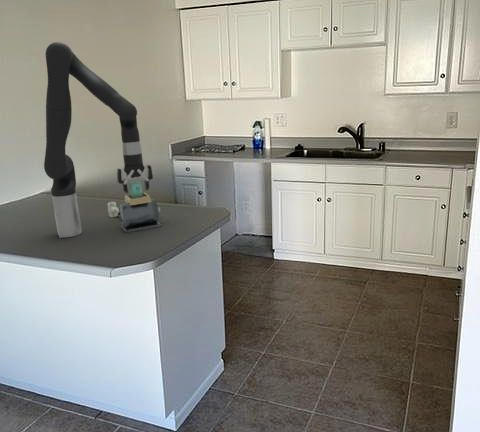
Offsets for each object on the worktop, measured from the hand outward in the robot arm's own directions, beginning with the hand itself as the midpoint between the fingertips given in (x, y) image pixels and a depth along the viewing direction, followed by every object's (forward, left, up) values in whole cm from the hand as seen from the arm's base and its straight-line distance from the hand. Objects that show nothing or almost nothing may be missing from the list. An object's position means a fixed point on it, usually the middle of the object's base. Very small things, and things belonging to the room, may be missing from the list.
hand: (136, 191), depth 198 cm
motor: (0, 0, -15) cm, 15 cm away
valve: (-5, +21, -16) cm, 27 cm away
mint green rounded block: (0, 0, -3) cm, 3 cm away
